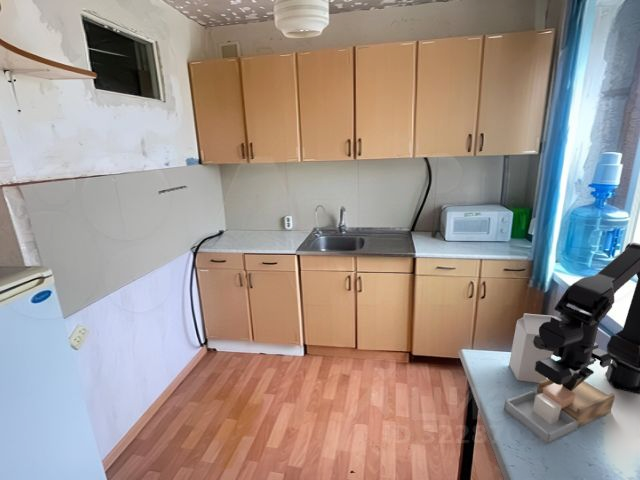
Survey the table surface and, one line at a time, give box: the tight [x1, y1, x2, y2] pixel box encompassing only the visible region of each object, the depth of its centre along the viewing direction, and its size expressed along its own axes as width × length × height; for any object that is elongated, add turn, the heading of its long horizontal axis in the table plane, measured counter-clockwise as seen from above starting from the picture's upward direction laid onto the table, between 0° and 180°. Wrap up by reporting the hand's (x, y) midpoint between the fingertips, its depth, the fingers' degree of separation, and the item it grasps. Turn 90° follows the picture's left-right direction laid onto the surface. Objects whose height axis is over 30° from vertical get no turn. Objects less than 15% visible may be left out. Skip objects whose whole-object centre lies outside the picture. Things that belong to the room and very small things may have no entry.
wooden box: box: [536, 378, 616, 428], centre depth 84 cm, size 13×10×5 cm
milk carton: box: [508, 313, 554, 384], centre depth 93 cm, size 7×7×19 cm
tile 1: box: [533, 393, 561, 424], centre depth 80 cm, size 4×4×2 cm
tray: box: [503, 390, 579, 445], centre depth 80 cm, size 10×11×2 cm
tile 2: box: [543, 383, 575, 409], centre depth 81 cm, size 4×4×2 cm
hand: (566, 392), depth 82 cm, fingers closed
